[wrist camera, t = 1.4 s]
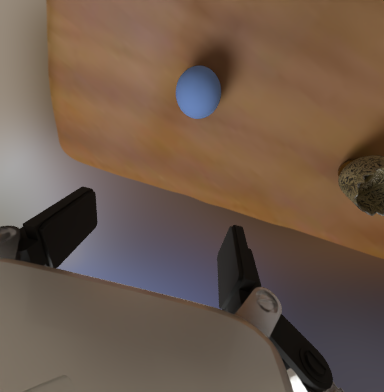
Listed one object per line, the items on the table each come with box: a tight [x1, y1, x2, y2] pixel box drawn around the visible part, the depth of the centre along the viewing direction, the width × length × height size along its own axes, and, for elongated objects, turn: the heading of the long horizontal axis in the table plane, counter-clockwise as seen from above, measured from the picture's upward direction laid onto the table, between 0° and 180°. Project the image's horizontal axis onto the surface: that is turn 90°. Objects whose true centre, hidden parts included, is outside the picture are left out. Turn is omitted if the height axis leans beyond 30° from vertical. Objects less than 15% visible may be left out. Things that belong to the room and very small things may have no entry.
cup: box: [338, 156, 384, 216], centre depth 24 cm, size 8×7×8 cm
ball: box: [176, 66, 221, 119], centre depth 22 cm, size 6×6×6 cm
